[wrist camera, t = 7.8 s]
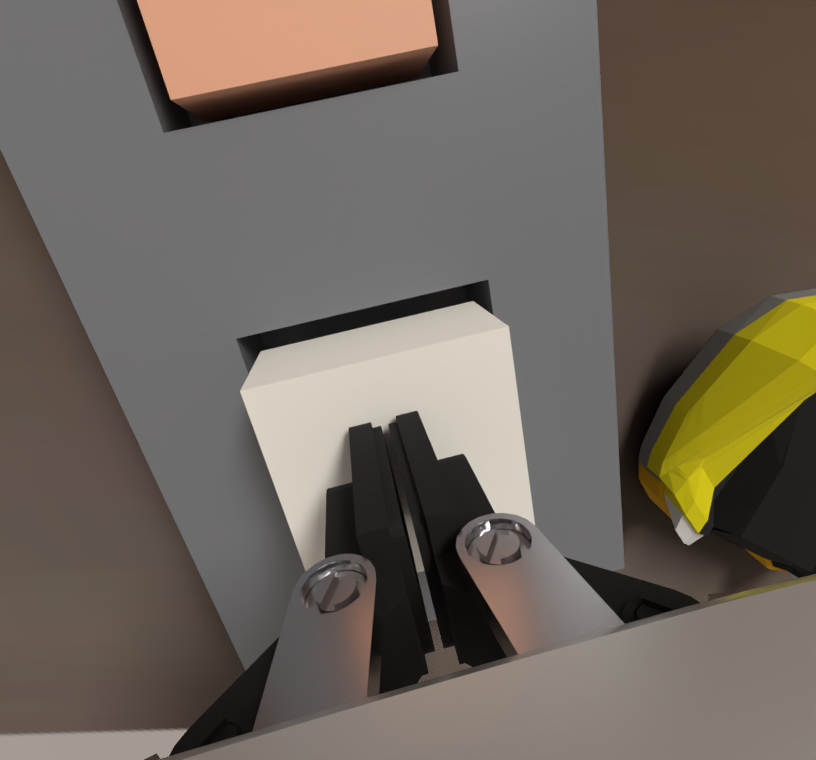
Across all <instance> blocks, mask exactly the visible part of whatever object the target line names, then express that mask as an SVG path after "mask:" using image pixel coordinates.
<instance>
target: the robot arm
mask: <svg viewBox="0 0 816 760" xmlns="http://www.w3.org/2000/svg"><path fill="white" fill-rule="evenodd" d="M396 421H397V422H394V423H390V424H388V425H389V429H390V433H391V437H392V441H393V445H394V449H395V454H396V458H397V462H398V466H399V470H400V474H401V478H402V482H403V486H404V490H405V494H406V498H407V502H408V506H409V510H410V514H411V518H412V522H413V526H414V530H415V534H416V538H417V542H418V546H419V551H420V555H421V559H422V563H423V567H424V571H425V575H426V579H427V583H428V587H429V591H430V595H431V599H432V603H433V607H434V611H435V615H436V619H437V623H438V627H439V631H440V635H441V639H442V643H443V647H444V648H448V647H451V646H455V649H456V653H457V656H458V660H459V664H463V663H466V664H468V665H470V666H472V668H469V669H465V670H462V671H458V672H455V673H451V674H448V675H444V676H441V677H437V678H434V679H430V680H427V681H424V682H420V683H417V682H418V681H419V679H420V678H421V676H422V675H425V674H428V669H427V664H426V659H425V654H427V653H430V652H434V651H435V649H434V644H433V640H432V636H431V631H430V627H429V622H428V618H427V614H426V609H425V605H424V601H423V596H422V592H421V587H420V583H419V579H418V574H417V570H416V565H415V561H414V557H413V552H412V548H411V543H410V539H409V535H408V530H407V526H406V522H405V518H404V514H403V510H402V506H401V502H400V498H399V494H398V490H397V486H396V482H395V478H394V475H393V471H392V467H391V463H390V459H389V455H388V451H387V447H386V443H385V439H384V435H383V431H382V427H381V426H378V427H374V428H373V427H372V424H371V422H369V423H365V424H361V425H357V426H353V427H349V442H350V456H351V470H352V482H351V483H347V484H343V485H339V486H336V487H332V488H328V489H327V492H326V527H325V559H324V560H322V561H320V562H318V563H316V564H314V565H313V566H312V567H311V568H309V569H308V570H307V571H305V572H304V574H303V575H302V576H301V577H300V578H299V580H298V581H297V583H296V585H295V587H294V589H293V591H292V595H291V598H290V601H289V605H288V608H287V612H286V615H285V619H284V622H283V626H282V629H281V633H280V636H279V637H278V638H277V639H276V640H275V641H274V642H273V643H272V644H271V645H270V646H269V647H268V648H267V649H266V651H265V652H264V653H263V654H262V655H261V656H260V657H259V658H258V659H257V660H256V661H255V662H254V663H253V664H252V665H251V666H250V667H249V668H248V669H247V670H246V671H245V672H244V673H243V674H242V675H241V676H240V677H239V678H238V679H237V680H236V681H235V682H234V683H233V684H232V685H231V686H230V687H229V688H228V689H227V690H226V691H225V692H224V693H223V694H222V695H221V696H220V697H219V698H218V699H217V700H216V702H215V703H214V704H213V705H212V706H211V707H210V708H209V709H208V710H207V711H206V712H205V713H204V714H203V715H202V716H201V717H200V718H199V719H198V720H197V721H196V722H195V723H194V724H193V725H192V726H191V727H190V728H189V729H188V730H187V732H186V733H185V734H184V735H183V736H182V737H181V739H180V740H179V741H178V742H177V744H176V745H175V746H174V748H173V750H172V752H171V754H170V755H169V757H166V758H163V759H160V758H159V756H158V755H157V754H155V755H153V756H151V757H149V758H147V759H145V760H816V574H813V575H809V576H805V577H801V578H797V579H792V580H788V581H784V582H780V583H776V584H771V585H767V586H763V587H759V588H755V589H750V590H746V591H743V592H734V593H720V594H708V601H706V602H703V603H700V602H698V601H697V600H695V599H694V598H692V597H690V596H688V595H685V594H683V593H681V592H678V591H676V590H673V589H670V588H666V587H663V586H660V585H656V584H653V583H650V582H646V581H643V580H640V579H636V578H633V577H630V576H626V575H623V574H620V573H616V572H613V571H610V570H607V569H603V568H600V567H597V566H593V565H590V564H587V563H583V562H580V561H577V560H573V559H570V558H567V557H563V556H562V555H561V553H560V552H559V551H558V550H557V549H556V548H555V547H554V546H553V545H552V544H551V542H550V541H549V540H548V539H547V538H546V537H545V536H544V535H543V534H542V533H541V532H540V530H539V529H538V528H537V527H536V526H535V525H534V524H532V523H531V522H530V521H529V520H527V519H525V518H523V517H520V516H518V515H514V514H508V513H495V512H494V510H493V508H492V506H491V504H490V502H489V500H488V498H487V496H486V494H485V493H484V491H483V489H482V487H481V485H480V483H479V481H478V479H477V477H476V475H475V473H474V472H473V470H472V468H471V466H470V464H469V462H468V460H467V458H466V456H465V455H464V454H459V455H455V456H451V457H447V458H444V459H440V460H437V457H436V455H435V452H434V450H433V447H432V445H431V442H430V440H429V438H428V435H427V433H426V430H425V428H424V425H423V423H422V420H421V418H420V415H419V413H418V411H413V412H409V413H405V414H401V415H397V416H396Z"/></svg>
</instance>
